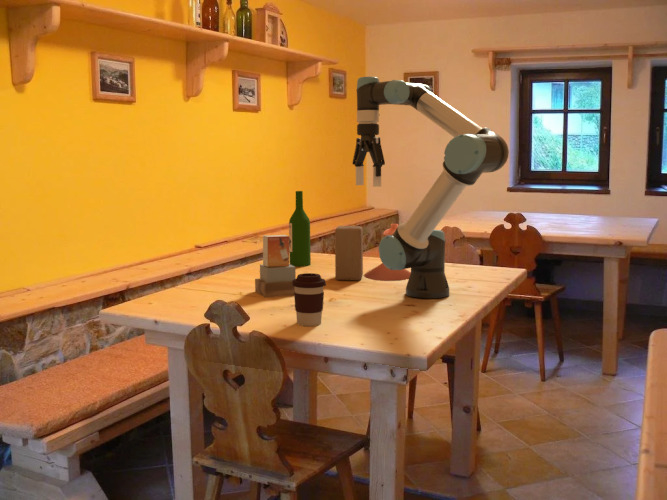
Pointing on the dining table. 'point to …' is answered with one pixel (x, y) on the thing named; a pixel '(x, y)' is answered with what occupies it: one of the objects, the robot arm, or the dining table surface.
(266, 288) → the tower base
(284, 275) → the tower top
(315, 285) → the coffee cup
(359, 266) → the block
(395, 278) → the ceramic vessels
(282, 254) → the small box
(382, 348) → the dining table surface
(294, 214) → the wine bottle
